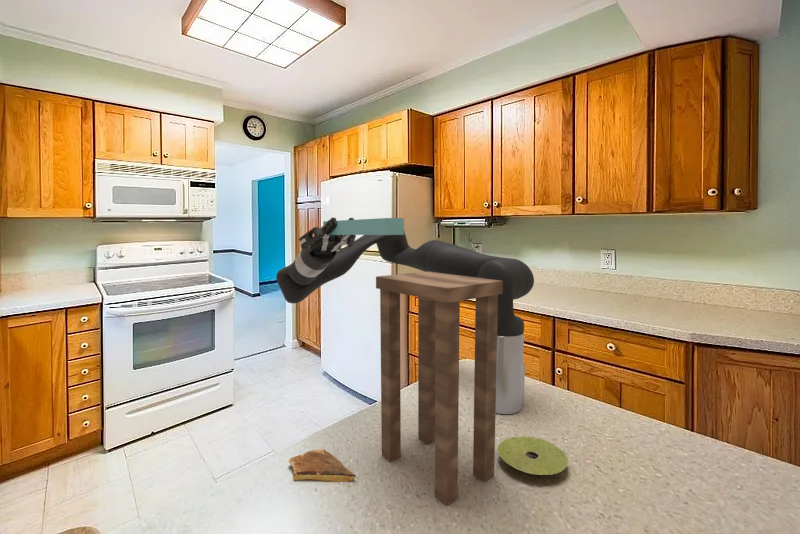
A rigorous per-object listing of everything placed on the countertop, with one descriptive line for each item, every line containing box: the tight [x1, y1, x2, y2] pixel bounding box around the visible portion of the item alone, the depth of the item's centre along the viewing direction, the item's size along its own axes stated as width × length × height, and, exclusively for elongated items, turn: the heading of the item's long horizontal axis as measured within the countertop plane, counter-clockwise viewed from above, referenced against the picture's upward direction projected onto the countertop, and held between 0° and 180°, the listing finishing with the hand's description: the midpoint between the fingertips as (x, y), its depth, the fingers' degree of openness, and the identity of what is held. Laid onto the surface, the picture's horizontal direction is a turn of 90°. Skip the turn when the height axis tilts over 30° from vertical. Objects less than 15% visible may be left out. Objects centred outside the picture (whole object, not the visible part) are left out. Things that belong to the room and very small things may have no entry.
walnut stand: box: [375, 271, 503, 507], centre depth 64 cm, size 12×17×32 cm
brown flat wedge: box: [288, 448, 357, 483], centre depth 63 cm, size 11×8×2 cm
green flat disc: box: [497, 436, 569, 476], centre depth 66 cm, size 11×11×2 cm
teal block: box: [322, 217, 405, 236], centre depth 80 cm, size 4×24×3 cm, turn 38°
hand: (344, 221), depth 84 cm, fingers closed on teal block, 4 cm apart
